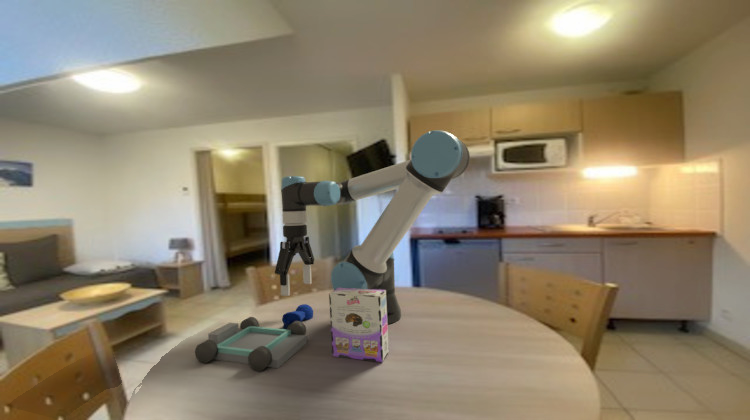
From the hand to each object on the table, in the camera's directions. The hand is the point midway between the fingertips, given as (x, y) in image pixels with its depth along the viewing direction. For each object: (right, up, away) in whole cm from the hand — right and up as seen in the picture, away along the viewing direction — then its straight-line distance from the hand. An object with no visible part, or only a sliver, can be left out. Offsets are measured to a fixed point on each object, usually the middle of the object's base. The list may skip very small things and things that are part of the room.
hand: (297, 289), depth 106 cm
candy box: (+22, -11, -23) cm, 34 cm away
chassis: (-7, -12, -18) cm, 23 cm away
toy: (+1, -12, 0) cm, 12 cm away
